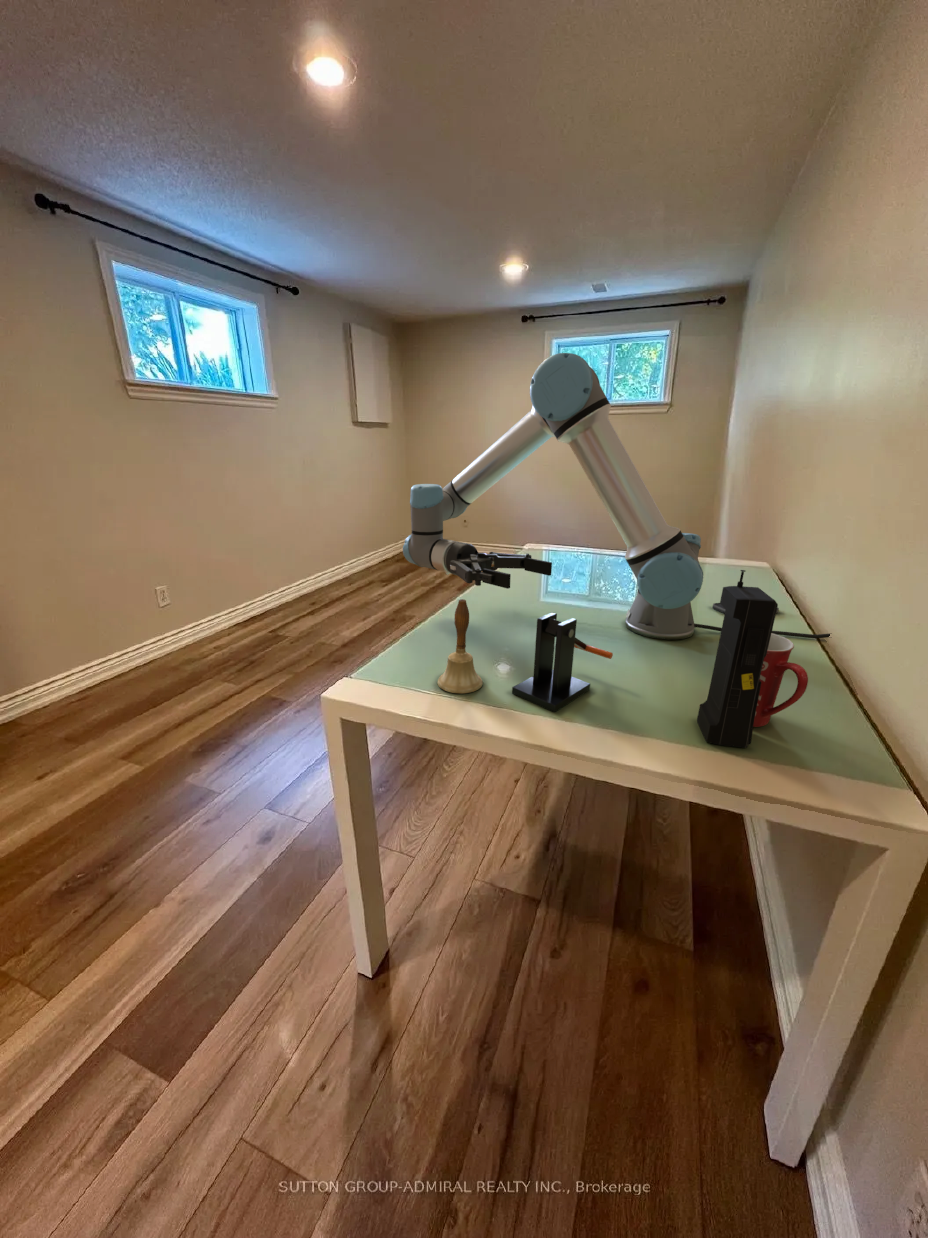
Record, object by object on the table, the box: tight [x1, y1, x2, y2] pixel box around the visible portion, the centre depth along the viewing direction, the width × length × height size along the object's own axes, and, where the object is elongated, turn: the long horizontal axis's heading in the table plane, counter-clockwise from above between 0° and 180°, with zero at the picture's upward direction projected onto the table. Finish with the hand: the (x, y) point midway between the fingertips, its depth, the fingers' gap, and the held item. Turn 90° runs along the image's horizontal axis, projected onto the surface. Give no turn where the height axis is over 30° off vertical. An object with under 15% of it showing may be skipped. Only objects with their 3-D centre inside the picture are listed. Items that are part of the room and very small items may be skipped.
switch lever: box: [545, 619, 614, 660], centre depth 87 cm, size 14×11×2 cm
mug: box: [753, 633, 809, 728], centre depth 76 cm, size 13×9×14 cm
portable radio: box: [696, 569, 779, 749], centre depth 70 cm, size 8×6×25 cm
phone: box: [712, 602, 780, 615], centre depth 130 cm, size 8×1×15 cm
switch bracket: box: [511, 612, 591, 713], centre depth 85 cm, size 11×9×14 cm
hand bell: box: [436, 598, 484, 694], centre depth 87 cm, size 8×8×16 cm
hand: (531, 575), depth 98 cm, fingers open, 13 cm apart
